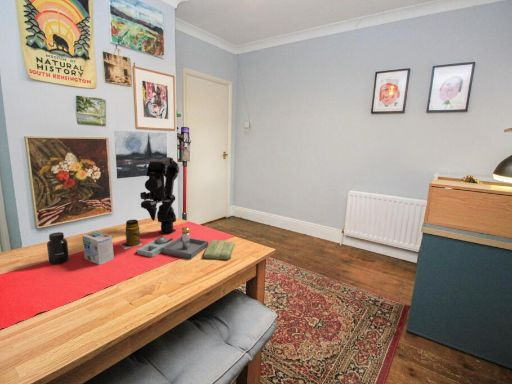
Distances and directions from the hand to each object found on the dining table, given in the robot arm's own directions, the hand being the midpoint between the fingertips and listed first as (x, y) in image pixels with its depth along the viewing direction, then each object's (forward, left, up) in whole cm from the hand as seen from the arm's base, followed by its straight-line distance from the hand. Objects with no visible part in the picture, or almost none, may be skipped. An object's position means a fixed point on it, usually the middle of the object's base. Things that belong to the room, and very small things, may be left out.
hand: (159, 217), depth 133 cm
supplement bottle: (+34, -24, -13) cm, 44 cm away
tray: (+3, +17, -12) cm, 21 cm away
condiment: (+9, -10, -13) cm, 19 cm away
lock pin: (+3, +17, -12) cm, 21 cm away
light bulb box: (+26, -11, -13) cm, 31 cm away
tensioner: (+8, +4, -12) cm, 15 cm away
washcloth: (-2, +32, -13) cm, 35 cm away
